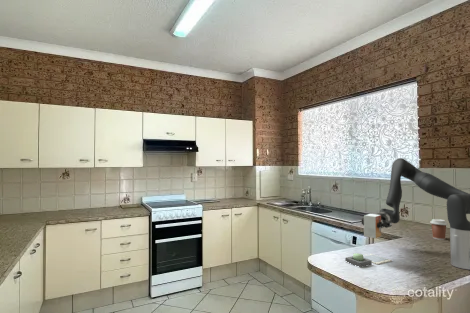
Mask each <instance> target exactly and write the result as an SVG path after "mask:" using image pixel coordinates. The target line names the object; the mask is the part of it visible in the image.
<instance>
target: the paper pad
mask: <svg viewBox="0 0 470 313" xmlns="http://www.w3.org/2000/svg"><path fill="white" fill-rule="evenodd" d="M369 254H370V255H367V254H366V255H367V256H363V258H366V259H369V260H372V264H374V265H377V266H378V265H382V264H385V263H386V264H387V263H389V262H392V261H393V260H392V259H391V258H390V259H389V258H387V257H383V256H380V255H377V254H374V253H369Z"/></svg>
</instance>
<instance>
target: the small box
mask: <svg viewBox="0 0 470 313" xmlns="http://www.w3.org/2000/svg"><path fill="white" fill-rule="evenodd" d="M363 218H364V226H363V236H364V237H366V238H372V239H378V238H379V237H382V228H381V227H380V228H377V223H379V222H381V215H377V213H368V214H365V215H363Z"/></svg>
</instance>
